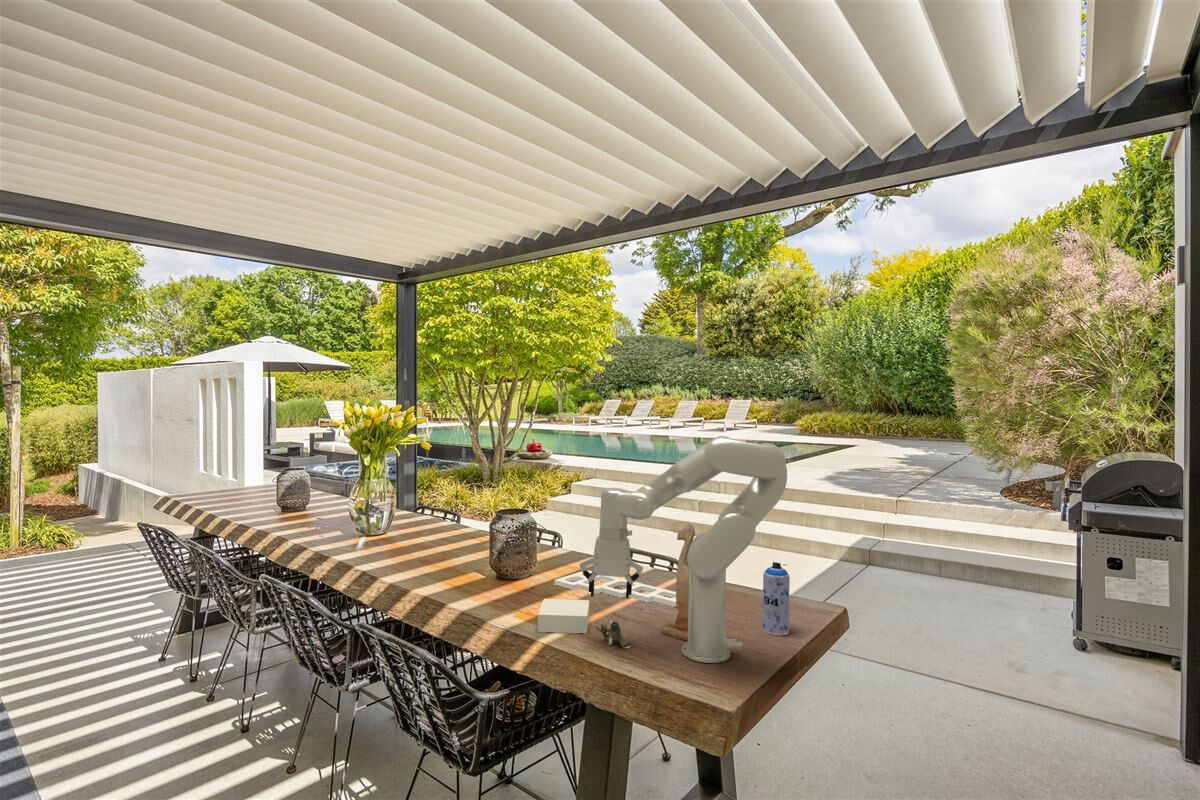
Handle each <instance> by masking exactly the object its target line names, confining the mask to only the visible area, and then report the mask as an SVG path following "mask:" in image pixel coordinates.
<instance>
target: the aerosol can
mask: <svg viewBox="0 0 1200 800" xmlns="http://www.w3.org/2000/svg"><path fill="white" fill-rule="evenodd" d="M781 564H782V563H781V562H774V561H773V562H772V566H771V565H770V566H769V567H768V568H766V569H765V570H764V571H763V578H762V579H763V580H762V618H761V619H762V621H761V622H762V624H761V629H762V628H763V629H764V630H766V631H768V632H771V633H780V634H783V633H787V632H788V631H789V632H790V630H789V629H790V628H789V625H790V624H789V623H790V584H791V583H790V582H791V581H790V579H791V578H790V573H789V572H788V571H787V570H786V569H785V568H784V567H782V565H781Z"/></svg>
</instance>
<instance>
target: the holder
mask: <svg viewBox="0 0 1200 800" xmlns="http://www.w3.org/2000/svg"><path fill="white" fill-rule="evenodd" d="M587 571H588V572H589V573H590V574H591V573H592V572H593V570H588V569H587ZM575 580H577V581H575ZM599 580H605V581H609V582H607V583H605V582H603V583H602V584H601V583H600V584H598V585H594V593H597V594H598V593H600V592H603V593H607V594H610V595H615V596H618V597H625V596H626V588H623V589H618V588H616V589H614V588H613V587H615V586H618V585H626V584H627V580H626V578H622V577H616V576H600V575H597V576H596V577H595V578H594V582H596V581H599ZM571 581H575V582H571ZM555 585H559V586H562V587H565V588H569V589H572V590H574V589H582V590H586V591H589V581H588V579H587V578H586V577H585V576H584V575H583V572H582V571H579V572H575V573H573V574H570V575H566V576H563V577H559V578H557V579H554V586H555ZM640 590H644V591H648V592H651V593H649V594H647V593H643V592H641V593H639V592H637V591H640ZM664 596H668V597H671V598H668V597H664ZM629 597H631V598H634V599H638V600H641V601H645V602H650V601H655V602H659V603H663V604H667V605H671V606H677V605H676V591H674V590H669V589H665V588H661V587H657V586H653V585H649V584H646V583H645V584H644V583H641V582H637V581H634V582H633V584H632V593H631V595H629Z"/></svg>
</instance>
